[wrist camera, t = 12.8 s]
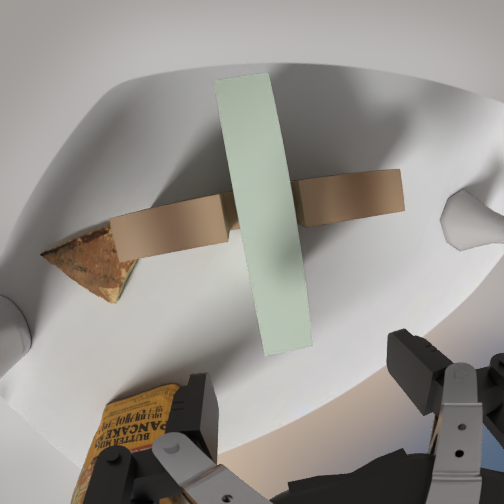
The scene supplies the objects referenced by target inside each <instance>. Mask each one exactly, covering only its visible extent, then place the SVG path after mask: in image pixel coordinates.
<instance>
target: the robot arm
mask: <svg viewBox="0 0 504 504" xmlns="http://www.w3.org/2000/svg"><path fill="white" fill-rule="evenodd" d="M30 346H31V337H30V332H29V328H28V325H27V323H26V321H25V319H24V317H23V315H22V313H21V312H20V311H19V309H18V308H17V307H16V306H15V304H14V303H13V302H11V301H10V300H9V299H7V298H6V297H4V296H0V379H1V378H2V377H3V376H4V375H5V374H6V373H7V372H8V371H9V370H10V369H11V368H12V367H13V366H14V365H15V364H16V363H17V362H18V361H19V360H20V359H21V358H22V357H23V356H25V355H26V354H27V353H28V351H29V350H30ZM387 368H388V371H389V373H390V374H391V376H392V377H393V378H394V379H395V380H396V382H397V383H398V384H399V386H400V387H401V388H402V389H403V391H404V392H405V393H406V394H407V395H408V397H409V398H410V399H411V401H412V402H413V403H414V404H415V406H416V407H417V408H418V410H419V411H420V412H421V413H422V415H423V416H425V415H427V414H429V413H432V412H433V413H434V414H435V416H434V420H433V426H432V431H431V436H430V441H429V446H428V451H427V454H424V453H415V454H406V453H405V451H404V449H403V448H402V449H399V450H397V451H394V452H392V453H389V454H387V455H384V456H381V457H378V458H376V459H375V460H373V461H371V462H370V463H368V464H366V465H364V466H363V467H361V468H359V469H357V470H356V471H354V472H352V473H348V474H339V475H325V476H315V477H311V478H306V479H302V480H297V481H292V482H288V486H289V490H287V491H285V492H282V493H280V494H279V495H276V496H275V497H273V498H272V499H270V500H267V499H266V498H265V497H263V496H262V495H261V494H259V493H258V492H257V491H255V490H254V489H252V488H251V487H250V486H249V485H247V484H246V483H245V482H244V481H242V480H241V479H240V478H239V477H238V476H236V475H235V474H234V473H233V472H231V471H230V470H229V469H228V468H227V467H225V466H224V465H222V464H219V465H217V447H218V419H219V408H218V402H217V398H216V395H215V392H214V389H213V385H212V382H211V379H210V376H209V374H208V372H205V373H197V374H191V375H190V378H189V383H188V386H181V387H180V388H179V389H178V390H177V391H176V393H175V394H174V396H173V400H172V404H171V409H170V410H171V411H170V413H169V417H168V421H167V425H166V429H165V433H164V435H161V436H160V437H158V438H157V439H156V440H155V441H154V443H153V445H152V448H149V449H146V450H142V451H138V452H133V453H131V452H130V451H129V449H128V448H126V447H124V446H121V445H113V446H109V447H107V448H105V449H104V450H102V451H101V452H100V453H99V455H98V457H97V460H96V463H95V466H94V469H93V472H92V475H91V478H90V481H89V484H88V487H87V491H86V494H85V497H84V500H83V504H159V502H160V499H163V498H167V497H171V496H175V495H179V494H181V495H182V496H183V497H184V499H185V500H186V501H187V502H188V503H189V504H504V472H499V471H494V470H489V469H485V468H481V467H480V464H481V451H482V422H483V423H484V425H485V426H486V427H487V429H488V430H489V431H490V432H491V433H492V435H493V436H494V437H495V438H496V440H497V441H498V442H499V443H500V445H501V446H502V447H503V449H504V353H499V354H496V355H494V356H493V357H492V358H491V361H490V365H489V366H488V367H484V368H480V369H474V367H472V366H471V365H470V364H467V363H453V362H452V361H451V360H449V359H448V358H447V357H446V356H445V355H443V354H442V353H441V352H440V351H439V350H437V348H435V347H434V346H432V344H431V343H430V342H428V341H427V340H426V339H424V338H422V337H419V336H413V335H412V334H411V333H409V332H408V331H407V330H406V329H401V330H398V331H394V332H391V333H389V334H388V341H387Z"/></svg>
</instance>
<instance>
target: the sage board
mask: <svg viewBox="0 0 504 504" xmlns="http://www.w3.org/2000/svg"><path fill="white" fill-rule="evenodd" d="M213 83H214V89H215V94H216V100H217V105H218V111H219V116H220V122H221V127H222V133H223V138H224V144H225V149H226V155H227V160H228V166H229V171H230V176H231V182H232V187H233V193H234V198H235V203H236V209H237V214H238V219H239V225H240V230H241V235H242V241H243V246H244V251H245V256H246V262H247V267H248V272H249V277H250V283H251V288H252V293H253V298H254V303H255V308H256V314H257V319H258V324H259V329H260V334H261V339H262V344H263V350H264V355H265V356H267V355H272V354H277V353H282V352H287V351H292V350H297V349H301V348H306V347H310V346H313V341H312V332H311V323H310V314H309V306H308V298H307V290H306V282H305V275H304V267H303V260H302V253H301V246H300V240H299V233H298V226H297V220H296V214H295V208H294V202H293V196H292V190H291V184H290V178H289V172H288V167H287V161H286V156H285V151H284V145H283V140H282V135H281V130H280V125H279V120H278V115H277V110H276V105H275V100H274V96H273V91H272V86H271V82H270V77H269V73H260V74H252V75H245V76H238V77H232V78H226V79H220V80H215V81H213Z"/></svg>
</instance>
